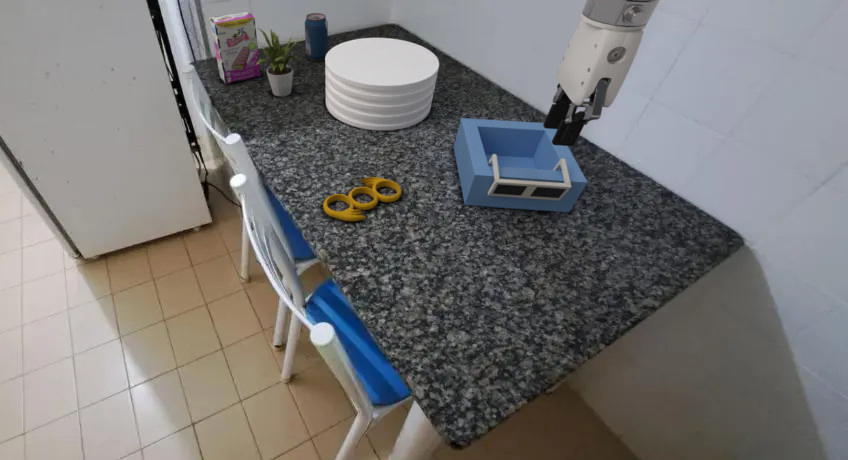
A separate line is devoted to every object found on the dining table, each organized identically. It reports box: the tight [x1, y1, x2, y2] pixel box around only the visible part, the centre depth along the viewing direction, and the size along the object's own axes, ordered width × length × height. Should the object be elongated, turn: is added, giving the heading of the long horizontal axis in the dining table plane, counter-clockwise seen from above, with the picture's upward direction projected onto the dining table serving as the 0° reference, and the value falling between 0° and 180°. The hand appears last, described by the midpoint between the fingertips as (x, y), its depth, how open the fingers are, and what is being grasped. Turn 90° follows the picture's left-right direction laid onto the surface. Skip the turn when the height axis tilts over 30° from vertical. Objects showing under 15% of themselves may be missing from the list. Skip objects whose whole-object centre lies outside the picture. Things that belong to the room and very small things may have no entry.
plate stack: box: [324, 37, 440, 131], centre depth 100 cm, size 28×28×12 cm
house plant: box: [250, 27, 305, 97], centre depth 102 cm, size 14×14×16 cm
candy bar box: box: [208, 11, 262, 85], centre depth 108 cm, size 11×5×16 cm, turn 122°
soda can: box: [304, 12, 329, 62], centre depth 120 cm, size 7×7×12 cm
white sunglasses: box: [488, 154, 571, 200], centre depth 73 cm, size 6×13×4 cm, turn 85°
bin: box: [453, 117, 588, 213], centre depth 80 cm, size 20×20×8 cm
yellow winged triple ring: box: [322, 176, 402, 222], centre depth 77 cm, size 17×2×10 cm
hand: (557, 135), depth 62 cm, fingers open, 4 cm apart
